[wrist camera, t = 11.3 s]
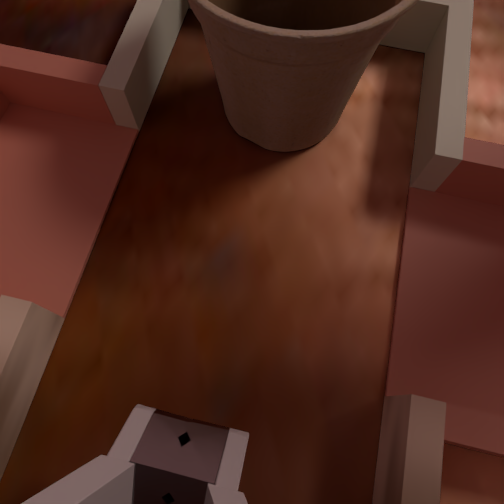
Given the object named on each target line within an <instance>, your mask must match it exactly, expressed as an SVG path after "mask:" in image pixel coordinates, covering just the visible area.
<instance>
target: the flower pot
mask: <svg viewBox="0 0 504 504" xmlns="http://www.w3.org/2000/svg"><path fill="white" fill-rule="evenodd" d="M418 1H419V0H188V2H189V4H190V7H191V9H192V11H193V13H194V14H195V16H196V18H197V19H198V21H199V22H200V23H201V27H202V30H203V34H204V37H205V41H206V44H207V48H208V51H209V54H210V58H211V61H212V65H213V68H214V72H215V75H216V79H217V82H218V86H219V90H220V93H221V97H222V101H223V105H224V111H225V114H226V117H227V119H228V121H229V123H230V124H231V126H232V127H233V129H234V130H235V131H236V132H237V133H238V134H239V135H240V136H242V137H244V138H246V139H248V140H250V141H252V142H254V143H256V144H258V145H259V146H261V147H263V148H265V149H267V150H272V151H280V152H289V151H296V150H301V149H305V148H307V147H310V146H312V145H314V144H316V143H318V142H320V141H321V140H323V139H324V138H325V137H326V136H327V135H328V134H329V133H330V132H331V130H332V129H333V128H334V127H335V125H336V124H337V122H338V120H339V119H340V116H341V114H342V112H343V110H344V108H345V106H346V104H347V102H348V100H349V99H350V97H351V95H352V93H353V91H354V89H355V87H356V85H357V84H358V82H359V80H360V78H361V76H362V74H363V72H364V70H365V69H366V67H367V65H368V63H369V61H370V60H371V58H372V56H373V54H374V52H375V51H376V49H377V47H378V45H379V43H380V41H381V40H382V39H383V38H384V37H385V36H386V35H387V34H388V33H389V32H390V31H391V30H392V29H393V27H394V26H395V25H396V23H397V22H398V20H399V19H400V17H401V16H403V15H404V14H405V13H406V12H407V11H409V10H410V9H411V8H412V7H413V6H414V5H415V4H416V3H417V2H418Z"/></svg>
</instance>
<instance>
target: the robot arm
mask: <svg viewBox="0 0 504 504" xmlns="http://www.w3.org/2000/svg"><path fill="white" fill-rule="evenodd" d="M229 429H230V430H229ZM248 438H249V433H248V432H244V431H240V430H236V429H232V428H229V427H225V426H221V425H217V424H213V423H209V422H205V421H201V420H197V419H190V418H187V417H183V416H180V415H176V414H173V413H169V412H166V411H162V410H159V409H155V408H151V407H147V406H144V405H140V404H137V405H136V406H135V407H134V408H133V410H132V412H131V414H130V415H129V417H128V419H127V421H126V422H125V424H124V426H123V428H122V430H121V431H120V433H119V435H118V437H117V438H116V440H115V442H114V444H113V446H112V447H111V449H110V451H109V453H108V454H107V456H105V455H100V456H98V457H96V458H95V459H93V460H91V461H90V462H88V463H86V464H85V465H83V466H82V467H80V468H78V469H77V470H75V471H73V472H72V473H70V474H69V475H67V476H65V477H64V478H62V479H60V480H59V481H57V482H56V483H54V484H52V485H51V486H49V487H47V488H46V489H44V490H42V491H41V492H39V493H38V494H36V495H34V496H33V497H31V498H29V499H28V500H26V501H25V502H23V503H21V504H248V503H247V501H246V498H245V495H244V493H242V492H239V491H238V487H239V483H240V478H241V473H242V468H243V463H244V458H245V453H246V448H247V443H248Z"/></svg>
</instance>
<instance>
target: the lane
mask: <svg viewBox="0 0 504 504" xmlns="http://www.w3.org/2000/svg"><path fill="white" fill-rule="evenodd" d="M64 319H65V318H63V317H61V316H59V315H57V314H55V313H53V312H51V311H49V310H47V309H45V308H43V307H41V306H39V305H37V304H35V303H33V302H30V301H26V300H22V299H18V298H14V297H9V296H5V295H1V297H0V481H1V478H2V475H3V473H4V470H5V468H6V465H7V463H8V460H9V458H10V455H11V453H12V450H13V448H14V445H15V443H16V440H17V438H18V435H19V433H20V430H21V428H22V425H23V423H24V420H25V417H26V415H27V412H28V410H29V407H30V405H31V402H32V400H33V397H34V395H35V392H36V390H37V387H38V385H39V382H40V380H41V377H42V375H43V372H44V370H45V367H46V365H47V362H48V360H49V357H50V354H51V352H52V349H53V347H54V344H55V342H56V339H57V337H58V334H59V332H60V329H61V327H62V324H63V322H64ZM445 416H446V402H442V401H438V400H434V399H430V398H425V397H421V396H417V395H413V394H407V395H395V396H384V405H383V413H382V422H381V431H380V439H379V448H378V456H377V465H376V474H375V482H374V491H373V499H372V504H440V491H441V476H442V461H443V446H444V431H445Z"/></svg>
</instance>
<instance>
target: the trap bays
mask: <svg viewBox="0 0 504 504" xmlns="http://www.w3.org/2000/svg"><path fill="white" fill-rule="evenodd" d="M106 68H107V65H103V64H98V63H93V62H88V61H83V60H78V59H73V58H68V57H63V56H58V55H53V54H48V53H43V52H38V51H33V50H28V49H23V48H18V47H13V46H8V45H3V44H0V297H1V295H5V296H9V297H14V298H18V299H22V300H26V301H30V302H33V303H35V304H37V305H39V306H41V307H43V308H45V309H47V310H49V311H51V312H53V313H55V314H57V315H59V316H61V317H63V318H65V317H66V314H67V312H68V309H69V307H70V304H71V302H72V299H73V297H74V294H75V291H76V289H77V286H78V284H79V281H80V279H81V276H82V274H83V271H84V269H85V266H86V264H87V261H88V259H89V256H90V254H91V251H92V249H93V246H94V244H95V241H96V239H97V236H98V234H99V231H100V228H101V226H102V223H103V221H104V218H105V216H106V213H107V211H108V208H109V206H110V203H111V201H112V198H113V196H114V193H115V191H116V188H117V186H118V183H119V181H120V178H121V176H122V173H123V171H124V168H125V165H126V163H127V160H128V158H129V155H130V153H131V150H132V148H133V145H134V143H135V140H136V138H137V135H138V133H139V131H138V129H133V128H129V127H124V126H119V125H116V123H115V121H114V119H113V117H112V114H111V112H110V110H109V108H108V106H107V103H106V101H105V99H104V97H103V95H102V92H101V90H100V88H99V86H98V85H99V83H100V81H101V78H102V76H103V74H104V72H105V70H106ZM407 394H413V395H417V396H421V397H425V398H430V399H434V400H438V401H442V402H446V416H445V431H444V443H447V444H451V445H455V446H459V447H463V448H467V449H471V450H475V451H479V452H483V453H487V454H491V455H495V456H499V457H503V458H504V145H501V144H496V143H491V142H486V141H481V140H476V139H471V138H466V137H464V147H463V160H462V161H461V162H460V163H459V165H458V166H457V167H456V168H455V169H454V170H453V171H452V173H451V174H450V175H449V176H448V177H447V178H446V179H445V180H444V182H443V183H442V184H441V185H440V186H439V187H438V188H437V190H436V191H435V192H433V191H428V190H423V189H419V188H414V187H410V188H409V191H408V199H407V208H406V216H405V225H404V233H403V242H402V251H401V259H400V268H399V276H398V285H397V293H396V302H395V311H394V319H393V328H392V336H391V345H390V353H389V362H388V371H387V379H386V388H385V396H395V395H407Z"/></svg>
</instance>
